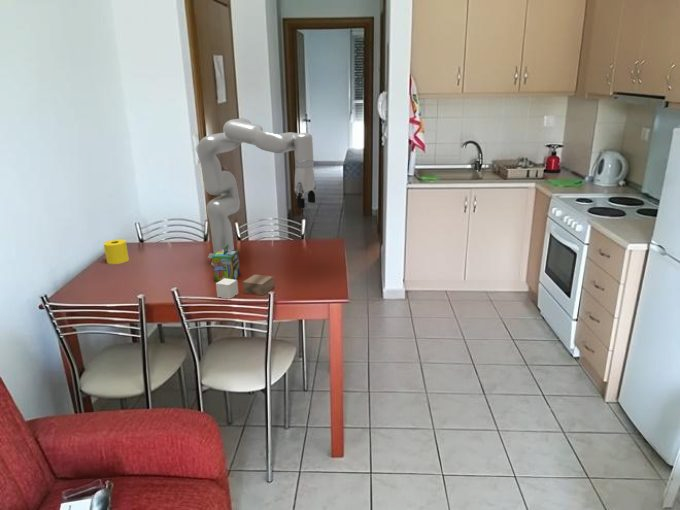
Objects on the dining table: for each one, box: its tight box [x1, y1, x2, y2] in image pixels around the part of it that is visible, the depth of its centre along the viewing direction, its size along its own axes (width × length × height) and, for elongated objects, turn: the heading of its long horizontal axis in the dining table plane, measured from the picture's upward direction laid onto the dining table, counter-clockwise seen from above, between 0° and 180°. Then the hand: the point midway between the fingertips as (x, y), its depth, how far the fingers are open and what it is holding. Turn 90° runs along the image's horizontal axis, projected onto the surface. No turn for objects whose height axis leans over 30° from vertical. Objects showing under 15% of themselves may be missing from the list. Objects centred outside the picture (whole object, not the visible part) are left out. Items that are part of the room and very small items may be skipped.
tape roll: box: [103, 238, 130, 265], centre depth 257 cm, size 10×10×9 cm
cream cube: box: [215, 278, 239, 299], centre depth 211 cm, size 6×6×6 cm
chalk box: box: [211, 245, 241, 282], centre depth 229 cm, size 9×9×15 cm
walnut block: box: [242, 274, 275, 296], centre depth 215 cm, size 9×9×5 cm
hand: (306, 205), depth 221 cm, fingers open, 9 cm apart
